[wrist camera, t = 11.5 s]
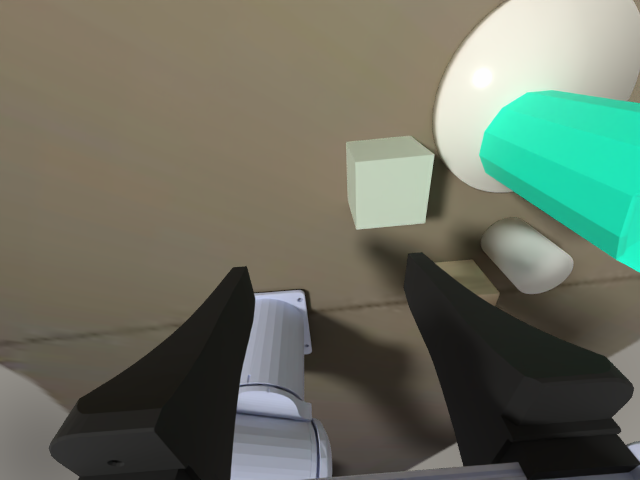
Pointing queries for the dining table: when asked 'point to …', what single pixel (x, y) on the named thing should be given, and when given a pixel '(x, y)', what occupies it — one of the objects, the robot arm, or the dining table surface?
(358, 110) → the dining table surface
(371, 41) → the dining table surface
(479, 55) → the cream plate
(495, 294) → the oak block
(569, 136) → the candle
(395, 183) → the sage block
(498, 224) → the grey cylinder
